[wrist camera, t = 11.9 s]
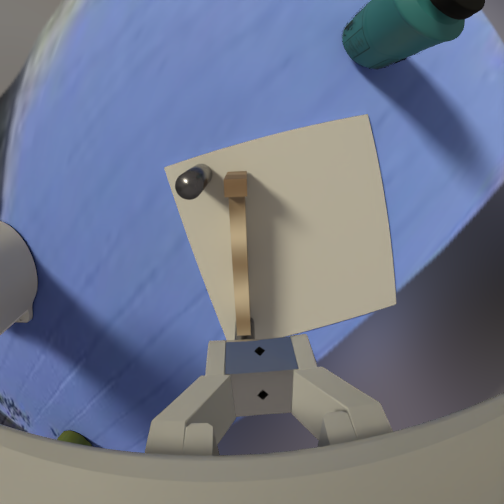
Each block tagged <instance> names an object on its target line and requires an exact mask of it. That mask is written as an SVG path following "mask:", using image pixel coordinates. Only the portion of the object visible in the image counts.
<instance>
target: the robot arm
mask: <svg viewBox="0 0 504 504" xmlns="http://www.w3.org/2000/svg"><path fill="white" fill-rule="evenodd" d="M36 292H37V272H36V267H35V264H34V261H33V258H32V255H31V253H30V251H29V249H28V247H27V245H26V244H25V242H24V240H23V239H22V238H21V236H20V235H19V234H18V233H17V232H16V231H15V230H14V229H13V228H12V227H11V226H9V225H8V224H6V223H4V222H2V221H0V335H1V334H2V333H4V332H5V331H6V330H7V329H8V328H9V327H10V326H11V325H13V324H14V323H15V322H24V323H27V322H29V321H30V320H31V319H32V317H33V310H32V304H33V300H34V298H35V296H36ZM291 412H292V415H293V416H294V417H295V418H297V420H298V421H300V423H301V424H302V425H304V427H306V428H307V429H308V430H309V431H310V432H311V433H312V434H313V435H314V436H315V437H316V438H317V439H318V440H319V442H318V447H316V448H309V449H301V450H294V451H285V452H274V453H263V454H247V455H219V451H218V447H217V444H218V443H219V442H220V440H221V439H222V437H223V436H224V435H225V433H226V432H227V430H228V429H229V427H230V426H231V425H232V423H233V422H234V420H235V419H236V417H240V416H251V415H262V414H277V413H291ZM0 504H504V392H503V393H501V394H499V395H496V396H494V397H492V398H490V399H487V400H485V401H483V402H480V403H478V404H475V405H473V406H470V407H468V408H465V409H463V410H460V411H457V412H455V413H452V414H449V415H446V416H443V417H440V418H438V419H435V420H432V421H428V422H425V423H422V424H419V425H415V426H412V427H409V428H405V429H401V430H398V431H394V432H393V430H392V428H391V426H390V424H389V422H388V419H387V417H386V415H385V413H384V411H383V408H382V406H381V404H380V402H378V401H376V400H375V399H373V398H371V397H370V396H368V395H366V394H365V393H363V392H362V391H360V390H358V389H357V388H355V387H353V386H352V385H350V384H349V383H347V382H346V381H344V380H342V379H341V378H339V377H338V376H336V375H334V374H333V373H331V372H330V371H328V370H327V369H325V368H324V367H317V363H316V360H315V357H314V354H313V351H312V348H311V345H310V342H309V339H308V336H307V335H306V334H302V335H294V336H290V337H279V338H267V339H246V340H226V341H225V340H221V341H210V342H209V344H208V353H207V363H206V374H205V376H200V377H199V378H198V379H197V380H196V381H195V382H194V383H192V384H191V385H190V386H189V387H188V388H187V389H186V390H185V391H184V392H183V393H182V394H181V395H180V396H178V397H177V398H176V399H175V400H174V401H173V402H172V403H171V404H170V405H169V406H167V407H166V408H165V409H164V410H163V411H162V412H161V413H160V414H159V415H158V416H156V417H155V418H154V419H153V420H152V422H151V426H150V431H149V435H148V440H147V444H146V449H145V453H139V452H129V451H120V450H112V449H105V448H98V447H92V446H86V445H80V444H75V443H70V442H65V441H60V440H56V439H51V438H47V437H43V436H39V435H35V434H31V433H27V432H24V431H20V430H17V429H13V428H10V427H7V426H4V425H0Z"/></svg>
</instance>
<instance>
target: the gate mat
mask: <svg viewBox="0 0 504 504" xmlns="http://www.w3.org/2000/svg"><path fill="white" fill-rule="evenodd" d="M197 164H205V165H207V166H209V167H210V169H211V170H212V179H211V181H210V182H209V183H208V185H207V186H206V187H205V189H204V190H203V191H202V192H201V194H200V195H199V196H198V197H197V198H195V199H192V200H187V199H183V198H182V197H180V196H179V195H178V194H177V192H176V189H175V182H176V180H177V178H178V177H179V176H180V175H181V174H182V173H184V172H186V171H187V170H189V169H190V168H192V167H194V166H195V165H197ZM164 169H165V172H166V175H167V178H168V181H169V184H170V187H171V190H172V193H173V196H174V199H175V202H176V205H177V208H178V211H179V213H180V216H181V219H182V222H183V225H184V228H185V231H186V233H187V236H188V239H189V242H190V245H191V247H192V250H193V253H194V256H195V258H196V261H197V264H198V267H199V269H200V272H201V275H202V277H203V280H204V283H205V285H206V288H207V291H208V293H209V296H210V298H211V301H212V304H213V306H214V309H215V311H216V314H217V316H218V319H219V321H220V324H221V327H222V329H223V332H224V334H225V336H226V339H227V340H234V338H235V322H236V312H235V298H234V282H233V267H232V251H231V234H230V217H229V198H228V197H225V198H224V178H225V176H226V174H227V172H234V171H247V197H245V201H246V225H247V249H248V272H249V295H250V317H251V318H252V319H253V320H254V327H255V339H267V338H279V337H285V336H289V335H293V334H296V333H300V332H304V331H308V330H312V329H315V328H319V327H323V326H326V325H330V324H333V323H337V322H340V321H344V320H347V319H350V318H354V317H357V316H360V315H364V314H367V313H370V312H373V311H376V310H380V309H383V308H386V307H389V306H392V305H395V304H396V292H395V279H394V267H393V257H392V248H391V239H390V231H389V223H388V216H387V209H386V203H385V197H384V191H383V185H382V179H381V174H380V168H379V163H378V158H377V153H376V148H375V144H374V139H373V135H372V130H371V126H370V122H369V118H368V114H366V115H361V116H355V117H350V118H345V119H340V120H335V121H330V122H325V123H320V124H316V125H311V126H307V127H303V128H298V129H294V130H290V131H286V132H282V133H278V134H274V135H270V136H266V137H262V138H259V139H255V140H251V141H248V142H244V143H240V144H237V145H233V146H230V147H227V148H223V149H220V150H217V151H213V152H210V153H207V154H204V155H200V156H197V157H194V158H191V159H188V160H185V161H182V162H179V163H176V164H173V165H170V166H167V167H165V168H164Z"/></svg>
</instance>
